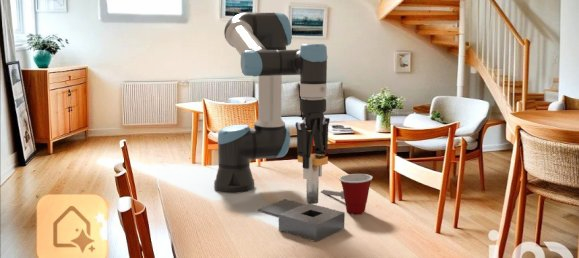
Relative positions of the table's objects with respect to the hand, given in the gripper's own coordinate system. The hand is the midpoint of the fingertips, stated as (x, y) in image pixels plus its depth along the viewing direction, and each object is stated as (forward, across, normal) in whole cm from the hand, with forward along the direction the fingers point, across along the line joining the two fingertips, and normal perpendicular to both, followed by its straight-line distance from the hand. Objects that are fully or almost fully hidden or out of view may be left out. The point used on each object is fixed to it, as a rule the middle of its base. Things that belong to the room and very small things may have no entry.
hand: (312, 177), depth 162 cm
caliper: (+17, +29, +11) cm, 36 cm away
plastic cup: (+16, +22, -1) cm, 28 cm away
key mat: (+16, +9, +16) cm, 25 cm away
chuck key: (+8, 0, 0) cm, 8 cm away
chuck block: (+16, 0, 0) cm, 16 cm away
